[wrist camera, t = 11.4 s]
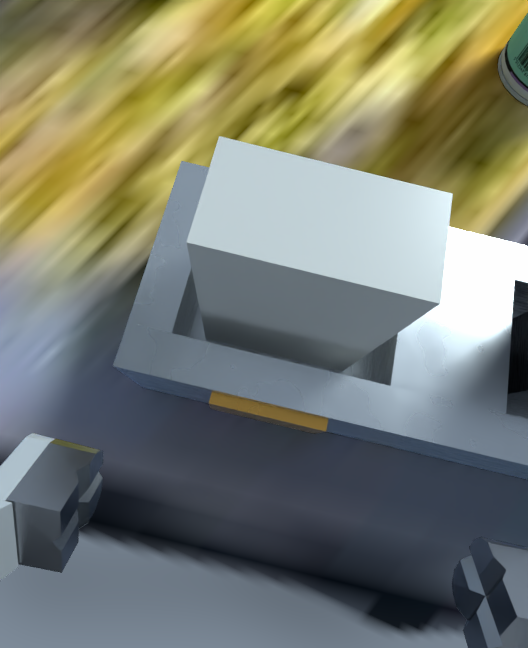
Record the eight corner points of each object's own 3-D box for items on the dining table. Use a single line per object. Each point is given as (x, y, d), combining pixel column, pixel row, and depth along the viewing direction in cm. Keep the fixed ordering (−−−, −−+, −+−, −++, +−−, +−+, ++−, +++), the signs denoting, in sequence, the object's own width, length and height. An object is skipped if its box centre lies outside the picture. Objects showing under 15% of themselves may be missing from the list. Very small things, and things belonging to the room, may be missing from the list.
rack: (139, 396, 19) (46, 339, 9) (192, 226, 21) (162, 40, 12) (633, 514, 19) (1047, 580, 9) (629, 333, 21) (955, 238, 12)
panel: (205, 338, 19) (186, 242, 10) (223, 275, 19) (219, 136, 11) (342, 371, 19) (440, 304, 10) (353, 307, 20) (452, 193, 11)
